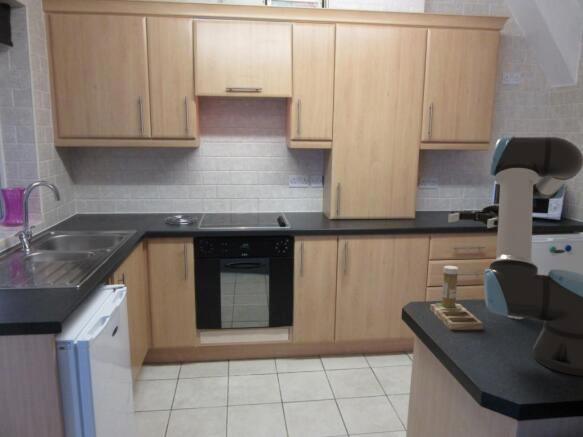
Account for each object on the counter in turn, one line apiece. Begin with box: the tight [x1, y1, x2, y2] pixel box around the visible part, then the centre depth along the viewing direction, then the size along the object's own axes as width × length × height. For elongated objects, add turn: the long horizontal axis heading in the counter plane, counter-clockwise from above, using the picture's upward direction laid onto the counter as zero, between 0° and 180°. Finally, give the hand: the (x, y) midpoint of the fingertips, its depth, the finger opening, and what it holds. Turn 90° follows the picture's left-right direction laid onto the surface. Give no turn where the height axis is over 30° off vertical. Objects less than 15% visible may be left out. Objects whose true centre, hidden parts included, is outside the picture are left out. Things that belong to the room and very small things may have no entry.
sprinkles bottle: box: [441, 265, 459, 308], centre depth 145 cm, size 5×5×13 cm
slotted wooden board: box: [430, 302, 484, 331], centre depth 141 cm, size 16×10×2 cm, turn 3°
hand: (468, 221), depth 148 cm, fingers open, 13 cm apart
